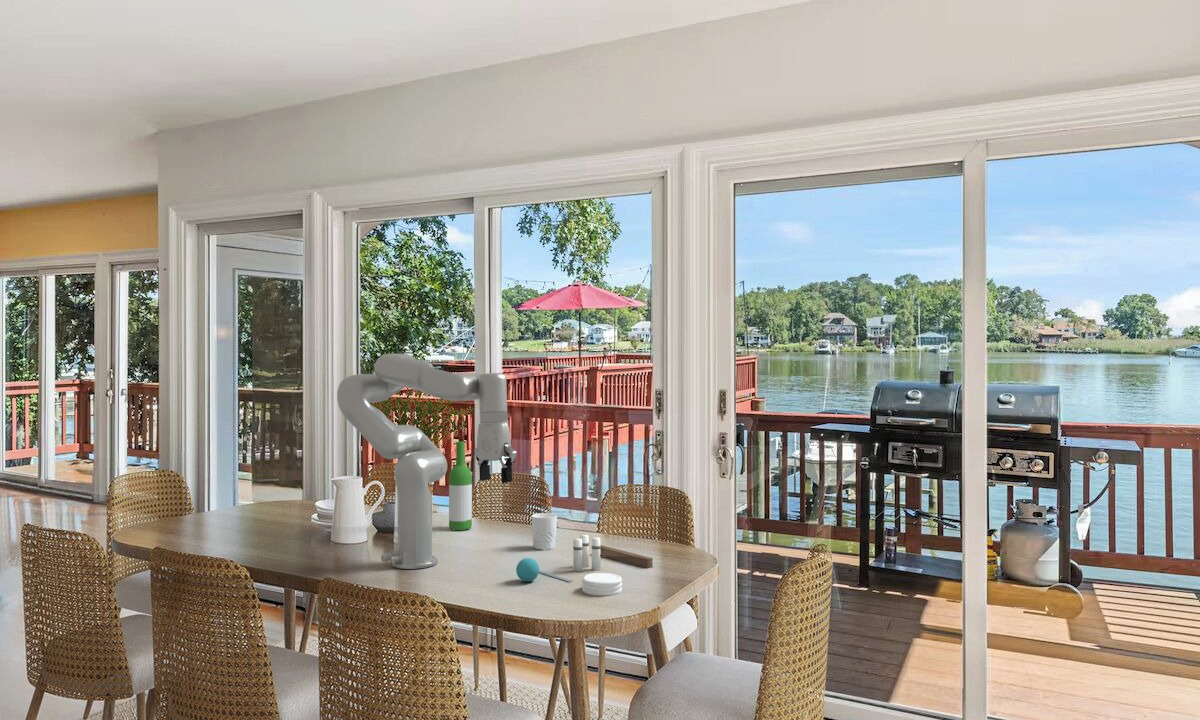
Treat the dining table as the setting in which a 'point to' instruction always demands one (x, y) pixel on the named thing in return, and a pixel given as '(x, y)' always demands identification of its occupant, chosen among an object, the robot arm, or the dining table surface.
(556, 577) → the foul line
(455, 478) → the wine bottle
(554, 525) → the white cup
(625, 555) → the backstop
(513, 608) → the dining table surface
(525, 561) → the ball
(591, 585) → the coaster
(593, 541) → the pin back right
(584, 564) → the pin back left
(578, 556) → the pin front
